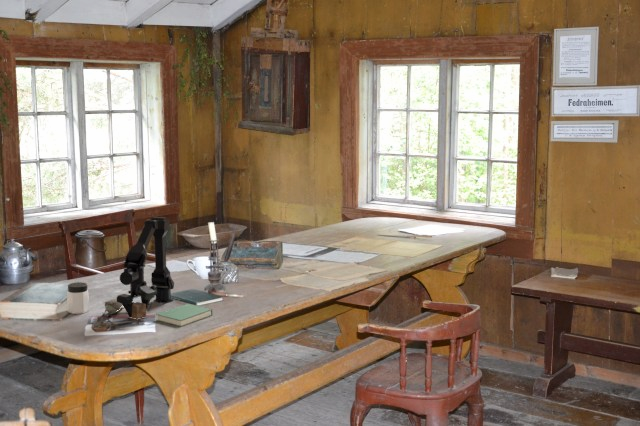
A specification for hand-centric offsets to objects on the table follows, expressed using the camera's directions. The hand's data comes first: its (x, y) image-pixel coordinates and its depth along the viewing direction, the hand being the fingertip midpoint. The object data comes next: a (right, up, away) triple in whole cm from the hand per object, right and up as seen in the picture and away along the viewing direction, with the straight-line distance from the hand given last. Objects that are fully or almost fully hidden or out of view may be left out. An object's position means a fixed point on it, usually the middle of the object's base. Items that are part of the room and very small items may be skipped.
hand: (137, 314), depth 352 cm
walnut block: (0, -1, 0) cm, 1 cm away
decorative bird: (-11, -1, +6) cm, 13 cm away
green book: (+20, -2, +2) cm, 20 cm away
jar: (-28, 0, +7) cm, 28 cm away
